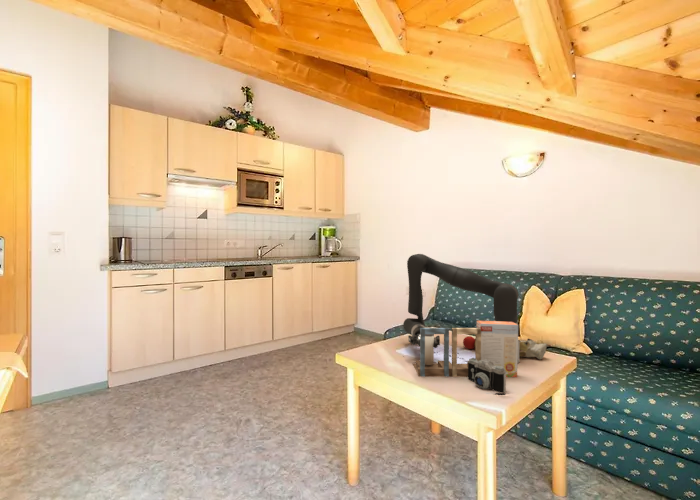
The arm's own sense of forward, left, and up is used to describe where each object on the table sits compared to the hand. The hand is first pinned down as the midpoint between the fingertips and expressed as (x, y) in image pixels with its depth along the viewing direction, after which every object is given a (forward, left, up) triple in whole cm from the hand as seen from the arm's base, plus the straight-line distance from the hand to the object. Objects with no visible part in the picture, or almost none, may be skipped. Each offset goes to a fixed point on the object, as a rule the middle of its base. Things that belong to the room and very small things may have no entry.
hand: (428, 345), depth 138 cm
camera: (-15, +18, -10) cm, 25 cm away
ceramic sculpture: (-48, -16, -10) cm, 52 cm away
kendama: (-32, -27, -10) cm, 43 cm away
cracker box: (-24, +7, -10) cm, 27 cm away
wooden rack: (-6, +3, -10) cm, 12 cm away
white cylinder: (0, -3, -8) cm, 8 cm away
